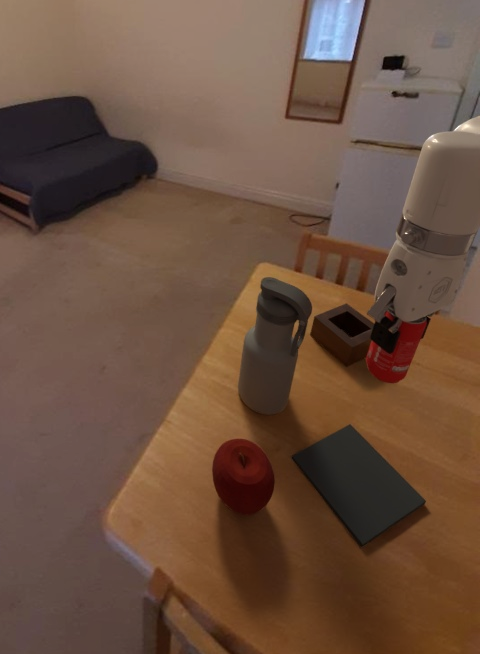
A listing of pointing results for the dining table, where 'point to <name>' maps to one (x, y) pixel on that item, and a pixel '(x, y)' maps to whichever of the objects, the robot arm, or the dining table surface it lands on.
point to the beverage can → (396, 352)
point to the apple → (243, 476)
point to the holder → (338, 342)
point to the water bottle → (273, 346)
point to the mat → (357, 484)
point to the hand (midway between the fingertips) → (396, 338)
